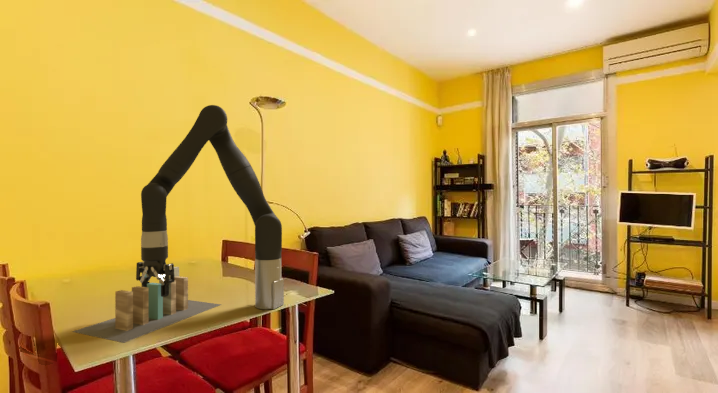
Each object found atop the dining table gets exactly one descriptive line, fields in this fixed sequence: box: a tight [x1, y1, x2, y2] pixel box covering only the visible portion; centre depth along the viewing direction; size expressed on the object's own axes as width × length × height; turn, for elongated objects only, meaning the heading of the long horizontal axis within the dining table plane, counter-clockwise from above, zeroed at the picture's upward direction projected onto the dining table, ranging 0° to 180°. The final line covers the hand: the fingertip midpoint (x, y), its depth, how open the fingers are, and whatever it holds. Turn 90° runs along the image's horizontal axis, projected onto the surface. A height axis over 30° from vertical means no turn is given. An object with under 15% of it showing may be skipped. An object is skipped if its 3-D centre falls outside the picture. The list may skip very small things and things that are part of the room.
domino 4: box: [160, 279, 176, 315], centre depth 118 cm, size 2×5×11 cm, turn 69°
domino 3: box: [147, 282, 163, 320], centre depth 113 cm, size 2×5×11 cm, turn 69°
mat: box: [71, 299, 222, 344], centre depth 114 cm, size 22×36×1 cm, turn 159°
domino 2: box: [131, 285, 149, 325], centre depth 109 cm, size 2×5×11 cm, turn 69°
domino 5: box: [174, 275, 189, 310], centre depth 123 cm, size 2×5×11 cm, turn 69°
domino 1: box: [114, 289, 133, 331], centre depth 104 cm, size 2×5×11 cm, turn 69°
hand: (155, 295), depth 113 cm, fingers open, 8 cm apart
